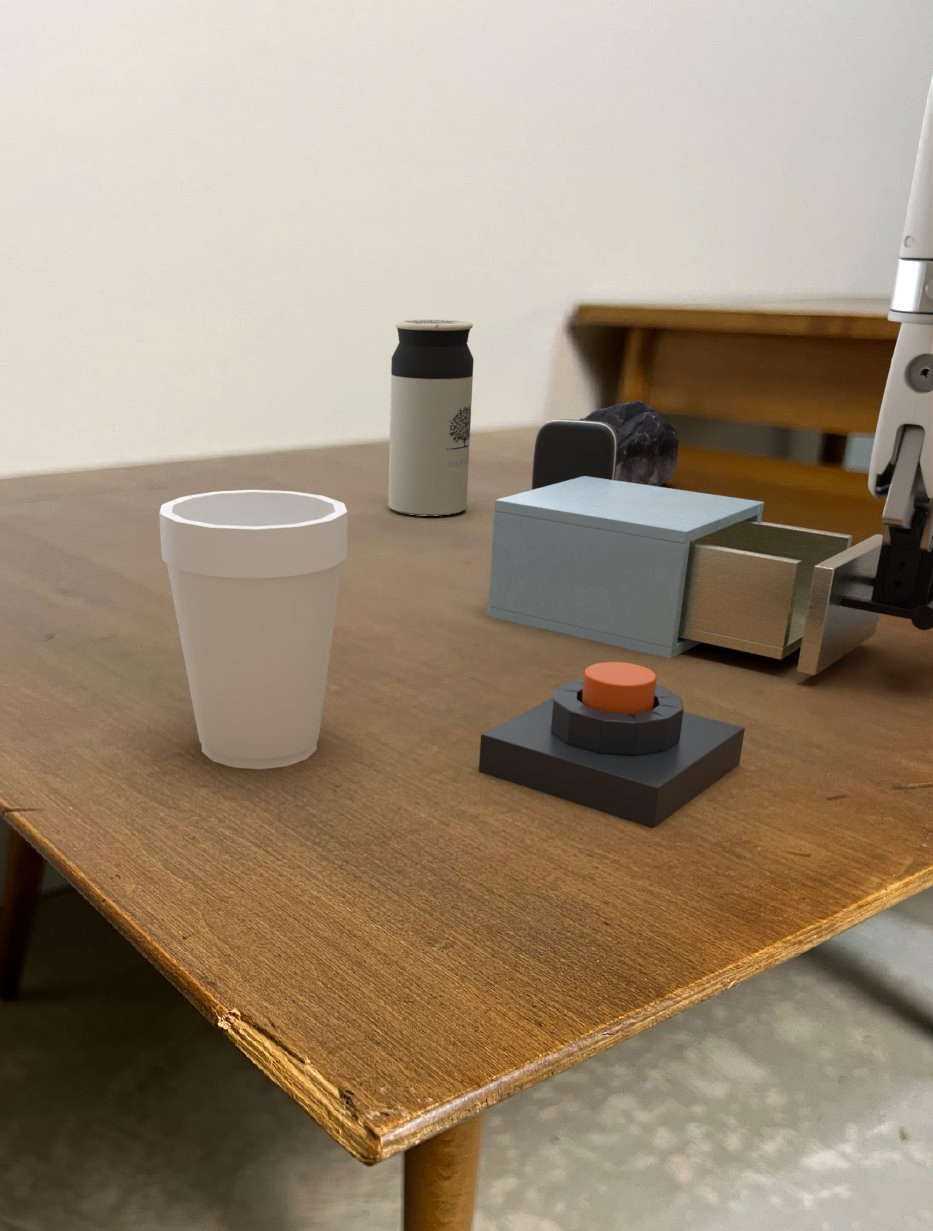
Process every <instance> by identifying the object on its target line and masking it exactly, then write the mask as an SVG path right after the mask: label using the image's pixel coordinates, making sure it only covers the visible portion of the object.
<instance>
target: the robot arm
mask: <svg viewBox="0 0 933 1231" xmlns="http://www.w3.org/2000/svg"><path fill="white" fill-rule="evenodd" d="M922 120H923V121H922V126H921V131H920V135H919V142H918V148H917V152H916V159H915V163H914V170H913V171H914V172H913V174H912V181H911V186H910V192H909V198H908V203H907V209H906V214H905V220H904V225H903V231H902V237H901V242H900V247H899V253H898V259H897V264H896V270H895V276H894V282H893V287H892V293H891V299H890V303H889V310H888V314H887V318H886V319H887V321H889V322H893V323H894V322H895V323H901V324H900V329H899V333H898V336H897V339H896V343H895V347H894V351H893V355H892V357H891V360H890V362H891V363H890V367H889V371H888V374H887V378H886V384H885V387H884V392H883V397H882V401H881V405H880V409H879V414H878V420H877V423H876V430H875V434H874V440H873V444H872V451H871V456H870V463H869V469H868V480H867V488H868V491H869V492H870V493H871V495H872V496H873V497H874V498H876V499H877V500H881V499H884V498H886V501H885V504H884V507H883V511H882V516H881V524H882V525H883V529H882V530H883V532H882V535H883V537H882V545H881V550H880V556H879V561H878V566H877V571H876V576H875V582H874V587H873V592H872V597H871V600H874V601H879V602H884V603H890V604H895V605H901V606H906V607H912V608H915V609H916V608H917V607H918V606H920V605H921V604H923V603H924V602H926V601H927V600H928V599H930V598H931V597H933V75H932V77H931V80H930V85H929V88H928V92H927V98H926V103H925V109H924V114H923V119H922Z"/></svg>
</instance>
